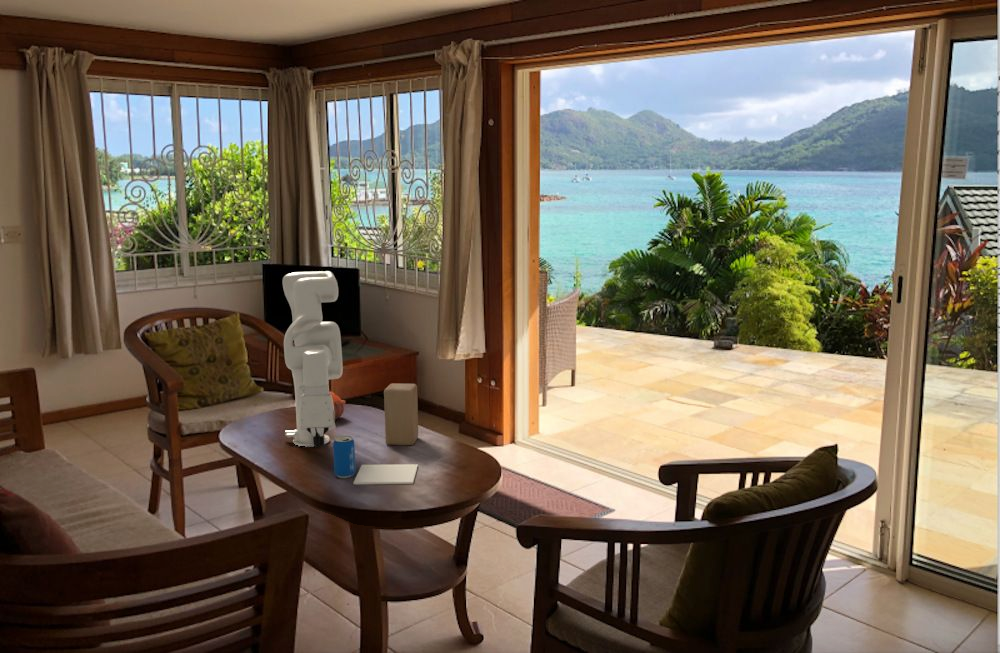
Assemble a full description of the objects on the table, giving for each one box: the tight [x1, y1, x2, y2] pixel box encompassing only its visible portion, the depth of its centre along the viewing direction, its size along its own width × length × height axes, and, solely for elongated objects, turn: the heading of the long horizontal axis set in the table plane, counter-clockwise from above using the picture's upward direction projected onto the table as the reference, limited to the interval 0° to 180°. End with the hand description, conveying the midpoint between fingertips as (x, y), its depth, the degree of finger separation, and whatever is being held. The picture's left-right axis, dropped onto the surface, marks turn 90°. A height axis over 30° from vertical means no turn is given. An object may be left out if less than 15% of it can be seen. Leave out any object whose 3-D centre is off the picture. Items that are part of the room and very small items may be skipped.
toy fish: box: [329, 390, 346, 420], centre depth 321 cm, size 12×10×11 cm
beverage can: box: [332, 435, 356, 479], centre depth 260 cm, size 6×6×12 cm
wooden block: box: [383, 382, 419, 446], centre depth 293 cm, size 10×10×20 cm
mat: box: [353, 463, 419, 485], centre depth 261 cm, size 18×16×1 cm
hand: (319, 447), depth 259 cm, fingers closed
